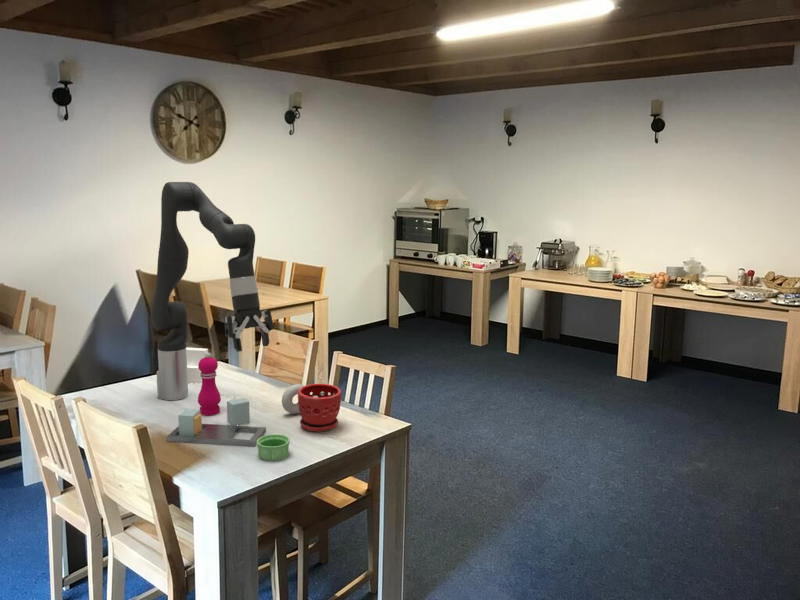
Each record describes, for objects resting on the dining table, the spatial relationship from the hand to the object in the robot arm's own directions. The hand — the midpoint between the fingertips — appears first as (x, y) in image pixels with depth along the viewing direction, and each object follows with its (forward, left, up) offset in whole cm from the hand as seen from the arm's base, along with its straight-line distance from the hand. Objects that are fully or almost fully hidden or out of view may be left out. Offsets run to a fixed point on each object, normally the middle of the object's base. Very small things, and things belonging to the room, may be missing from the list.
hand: (252, 348), depth 189 cm
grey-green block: (-9, +10, -27) cm, 30 cm away
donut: (+7, +20, -27) cm, 34 cm away
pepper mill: (-21, +17, -27) cm, 38 cm away
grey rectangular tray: (-11, -2, -27) cm, 29 cm away
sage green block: (-19, -2, -27) cm, 33 cm away
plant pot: (+17, +10, -27) cm, 34 cm away
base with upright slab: (-39, +49, -27) cm, 68 cm away
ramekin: (+9, -12, -27) cm, 31 cm away
